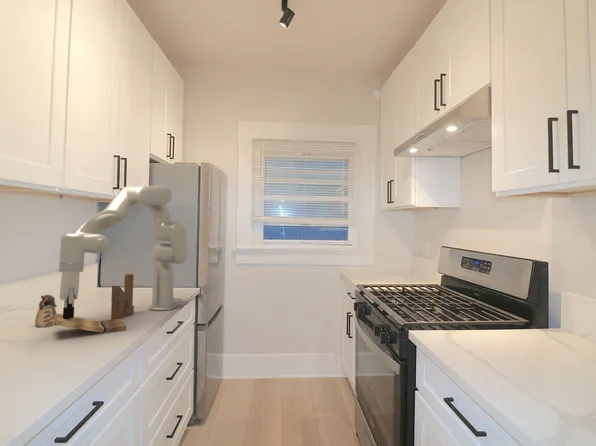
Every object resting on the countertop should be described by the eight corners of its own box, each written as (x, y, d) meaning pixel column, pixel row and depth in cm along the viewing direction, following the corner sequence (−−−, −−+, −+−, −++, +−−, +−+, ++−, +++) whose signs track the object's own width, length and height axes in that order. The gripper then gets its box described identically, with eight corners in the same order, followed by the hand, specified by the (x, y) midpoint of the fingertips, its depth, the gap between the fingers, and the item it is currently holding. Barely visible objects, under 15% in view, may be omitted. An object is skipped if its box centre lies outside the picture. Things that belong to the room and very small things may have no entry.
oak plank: (97, 324, 137) (99, 321, 137) (102, 332, 128) (104, 328, 128) (54, 317, 128) (56, 313, 129) (56, 325, 119) (58, 320, 119)
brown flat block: (119, 322, 142) (119, 318, 142) (126, 330, 132) (126, 325, 132) (100, 325, 138) (100, 320, 138) (105, 333, 128) (105, 328, 128)
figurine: (61, 323, 138) (63, 293, 138) (43, 328, 131) (44, 296, 131) (49, 321, 140) (50, 292, 141) (30, 326, 134) (31, 295, 134)
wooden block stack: (110, 319, 147) (112, 276, 147) (126, 313, 157) (128, 273, 157) (118, 319, 146) (120, 277, 146) (134, 313, 157) (135, 273, 157)
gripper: (57, 265, 130) (54, 315, 129) (60, 269, 118) (56, 324, 117) (81, 265, 134) (78, 313, 134) (86, 269, 123) (82, 321, 122)
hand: (68, 318), depth 126 cm, fingers closed
